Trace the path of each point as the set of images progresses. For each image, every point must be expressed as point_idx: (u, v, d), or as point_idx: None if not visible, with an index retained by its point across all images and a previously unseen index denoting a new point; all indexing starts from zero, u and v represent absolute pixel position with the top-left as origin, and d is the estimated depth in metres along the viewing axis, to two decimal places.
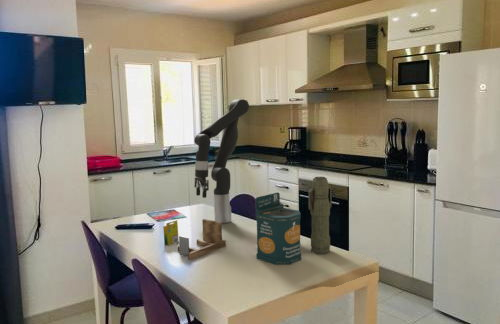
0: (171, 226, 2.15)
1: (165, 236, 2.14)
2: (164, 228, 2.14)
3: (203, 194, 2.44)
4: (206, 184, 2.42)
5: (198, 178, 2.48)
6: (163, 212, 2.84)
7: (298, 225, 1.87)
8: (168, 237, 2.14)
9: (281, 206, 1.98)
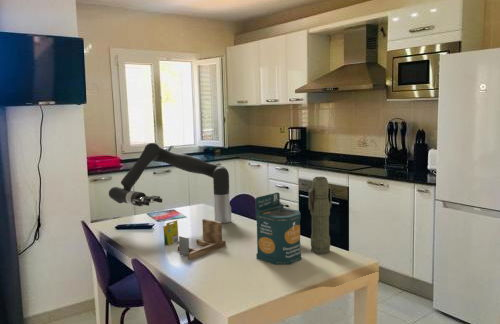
0: (171, 226, 2.15)
1: (165, 236, 2.14)
2: (164, 228, 2.14)
3: (145, 204, 2.20)
4: (134, 202, 2.22)
5: None
6: (163, 212, 2.84)
7: (298, 225, 1.87)
8: (168, 237, 2.14)
9: (281, 206, 1.98)
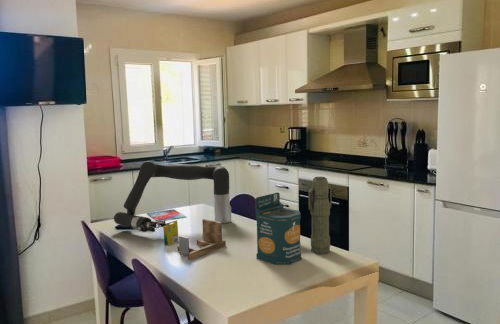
0: (171, 226, 2.15)
1: (165, 236, 2.14)
2: (164, 228, 2.14)
3: (151, 230, 2.19)
4: (140, 228, 2.21)
5: None
6: (163, 212, 2.84)
7: (298, 225, 1.87)
8: (168, 237, 2.14)
9: (281, 206, 1.98)
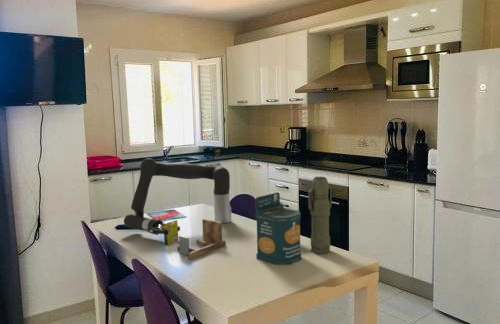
0: (171, 226, 2.15)
1: (165, 236, 2.14)
2: (164, 228, 2.14)
3: (164, 233, 2.13)
4: (152, 231, 2.15)
5: None
6: (163, 212, 2.84)
7: (298, 225, 1.87)
8: (168, 237, 2.14)
9: (281, 206, 1.98)
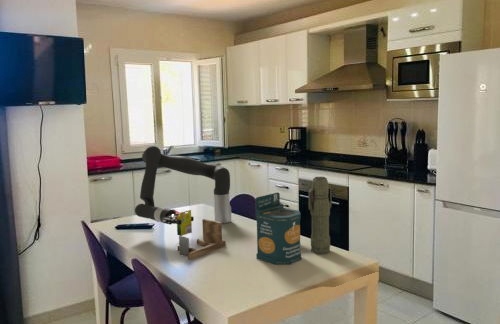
0: (185, 216, 2.08)
1: (178, 226, 2.08)
2: (177, 218, 2.07)
3: (177, 223, 2.07)
4: (165, 221, 2.08)
5: None
6: None
7: (298, 225, 1.87)
8: (181, 227, 2.07)
9: (281, 206, 1.98)
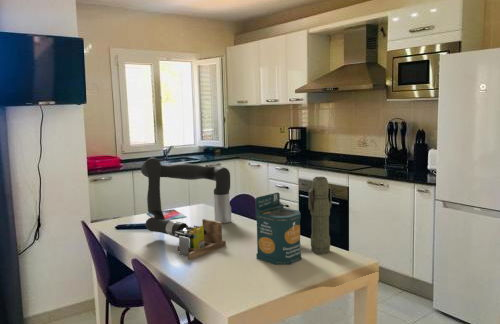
0: (197, 231, 2.04)
1: (191, 242, 2.03)
2: None
3: (190, 237, 2.02)
4: (177, 235, 2.04)
5: None
6: (163, 212, 2.84)
7: (298, 225, 1.87)
8: (194, 244, 2.03)
9: (281, 206, 1.98)
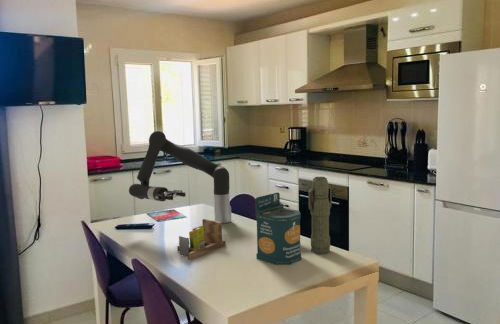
0: (197, 231, 2.04)
1: (191, 242, 2.03)
2: (190, 234, 2.03)
3: None
4: (158, 197, 2.17)
5: None
6: (163, 212, 2.84)
7: (298, 225, 1.87)
8: (194, 244, 2.03)
9: (281, 206, 1.98)
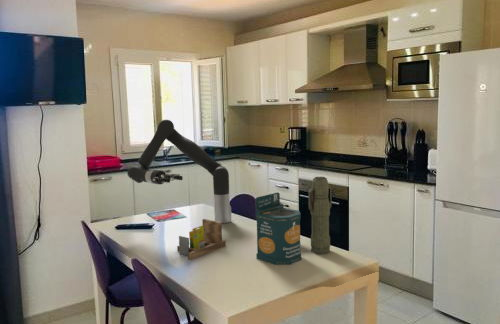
0: (197, 231, 2.04)
1: (191, 242, 2.03)
2: (190, 234, 2.03)
3: (166, 181, 2.18)
4: (155, 180, 2.20)
5: None
6: (163, 212, 2.84)
7: (298, 225, 1.87)
8: (194, 244, 2.03)
9: (281, 206, 1.98)
